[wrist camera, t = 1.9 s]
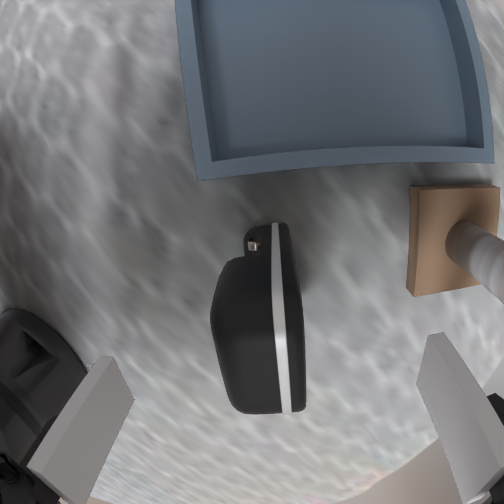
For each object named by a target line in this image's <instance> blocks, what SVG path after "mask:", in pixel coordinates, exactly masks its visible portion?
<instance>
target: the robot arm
mask: <svg viewBox="0 0 504 504" xmlns="http://www.w3.org/2000/svg"><path fill="white" fill-rule="evenodd" d="M416 385H417V387H418V389H419V391H420V394H421V396H422V398H423V400H424V403H425V405H426V407H427V409H428V412H429V414H430V416H431V419H432V421H433V424H434V426H435V428H436V431H437V433H438V436H439V438H440V441H441V443H442V446H443V449H444V451H445V454H446V456H447V459H448V462H449V464H450V467H451V470H452V473H453V475H454V478H455V481H456V484H457V487H458V490H459V493H460V497H461V500H462V503H463V504H469V503H472V502H474V501H476V500H478V499H480V498H482V497H483V496H484V495H485V494H486V493H487V492H488V491H489V492H490V494H491V496H490V497H489V498H488V499H487V500H486V501H485V502H484V503H483V504H504V399H502V398H501V397H500V396H498V395H497V394H496V393H494V394H492V395H489V396H487V397H486V395H485V393H484V392H483V390H482V389H481V387H480V385H479V384H478V382H477V381H476V379H475V377H474V376H473V374H472V373H471V371H470V370H469V368H468V367H467V365H466V364H465V362H464V361H463V359H462V358H461V356H460V355H459V353H458V352H457V350H456V349H455V348H454V346H453V345H452V343H451V342H450V340H449V339H448V338H447V336H446V335H445V333H444V332H442V333H437V334H433V335H428V338H427V342H426V347H425V351H424V355H423V360H422V364H421V367H420V371H419V375H418V379H417V382H416ZM134 400H135V399H134V398H133V396H132V394H131V392H130V390H129V388H128V386H127V384H126V382H125V380H124V378H123V376H122V374H121V372H120V369H119V367H118V365H117V363H116V361H115V359H114V357H110V356H100V357H99V358H98V359H97V361H96V362H95V364H94V365H93V366H92V368H91V369H90V371H89V372H88V373H86V371H85V369H84V368H83V366H82V364H81V362H80V361H79V359H78V358H77V356H76V355H75V354H74V352H73V351H72V350H71V348H70V347H69V346H68V345H67V344H66V343H65V341H64V340H63V339H62V338H61V337H60V336H59V335H58V334H57V333H56V332H55V331H54V330H53V329H51V328H50V327H49V326H48V325H47V324H45V323H44V322H43V321H41V320H40V319H39V318H37V317H35V316H34V315H32V314H30V313H28V312H25V311H23V310H19V309H10V310H7V311H5V312H4V313H3V314H2V315H1V316H0V504H61V503H60V502H59V501H58V500H59V498H60V497H61V498H62V499H63V500H65V501H66V502H67V503H68V504H86V502H87V500H88V498H89V495H90V493H91V491H92V489H93V487H94V484H95V482H96V480H97V478H98V475H99V473H100V471H101V469H102V467H103V465H104V462H105V460H106V458H107V456H108V454H109V452H110V450H111V447H112V445H113V443H114V441H115V439H116V437H117V435H118V433H119V431H120V429H121V427H122V424H123V422H124V420H125V418H126V416H127V414H128V412H129V410H130V408H131V406H132V404H133V402H134Z"/></svg>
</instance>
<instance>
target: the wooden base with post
mask: <svg viewBox="0 0 504 504" xmlns="http://www.w3.org/2000/svg"><path fill="white" fill-rule="evenodd" d="M499 204H500V188H499V187H496V186H493V185H490V184H464V185H430V186H410V234H409V257H408V272H407V284H406V288H407V289H408V290H409V292H410V293H411V294H412V295H413V297H416V296H422V295H428V294H433V293H439V292H444V291H449V290H455V289H460V288H465V287H470V286H474V285H479V284H482V285H483V286H484V287H485V288H486V289H487V290H489V291H490V292H491V293H492V294H493V295H494V296H495V297H497V298H498V299H499V300H500V301H501V302H502V303H503V304H504V241H503V240H501V239H500V238H498V237H497V230H498V219H499Z"/></svg>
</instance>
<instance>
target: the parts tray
mask: <svg viewBox="0 0 504 504" xmlns="http://www.w3.org/2000/svg"><path fill="white" fill-rule="evenodd" d="M175 11H176V22H177V32H178V41H179V50H180V59H181V68H182V76H183V84H184V92H185V100H186V107H187V114H188V122H189V129H190V135H191V142H192V149H193V156H194V162H195V168H196V175H197V181H205V180H211V179H218V178H225V177H232V176H240V175H247V174H255V173H264V172H273V171H282V170H292V169H302V168H313V167H326V166H340V165H355V164H375V163H404V162H468V163H494V144H493V129H492V118H491V109H490V101H489V94H488V88H487V82H486V76H485V71H484V66H483V61H482V57H481V52H480V48H479V44H478V40H477V37H476V33H475V29H474V26H473V23H472V19H471V16H470V13H469V10H468V7H467V4H466V1H465V0H175Z"/></svg>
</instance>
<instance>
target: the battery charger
mask: <svg viewBox="0 0 504 504" xmlns="http://www.w3.org/2000/svg"><path fill="white" fill-rule="evenodd" d="M244 253H245V256H242V257H237V258H234V259H232V260H230V261H228V262H227V263H226V265H225V266H224V268H223V270H222V272H221V274H220V276H219V279H218V282H217V286H216V290H215V294H214V297H213V302H212V306H211V312H210V323H211V330H212V335H213V340H214V344H215V348H216V353H217V357H218V361H219V365H220V369H221V373H222V377H223V381H224V384H225V388H226V392H227V395H228V398H229V400H230V402H231V404H232V406H233V407H234V408H235V409H236V410H238V411H240V412H242V413H244V414H275V413H283V415H287V414H292V412H299V411H302V410H304V409H305V407H306V360H305V334H304V318H303V307H302V299H301V292H300V286H299V280H298V274H297V269H296V263H295V258H294V253H293V248H292V244H291V239H290V233H289V228H288V226H287V225H286V224H284V223H281V224H278V223H272V224H270V225H262V226H259V227H255V228H253V229H252V230H250V231H249V232H248V233H247V234H246V235H245V237H244Z"/></svg>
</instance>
